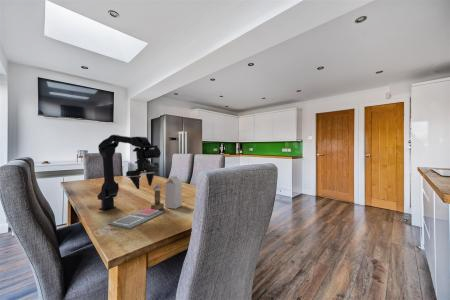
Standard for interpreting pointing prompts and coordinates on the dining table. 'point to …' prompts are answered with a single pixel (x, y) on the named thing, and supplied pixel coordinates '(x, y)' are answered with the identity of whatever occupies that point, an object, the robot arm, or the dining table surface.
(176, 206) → the milk carton
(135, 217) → the stamping board
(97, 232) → the dining table surface
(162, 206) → the walnut stamp
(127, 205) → the dining table surface
